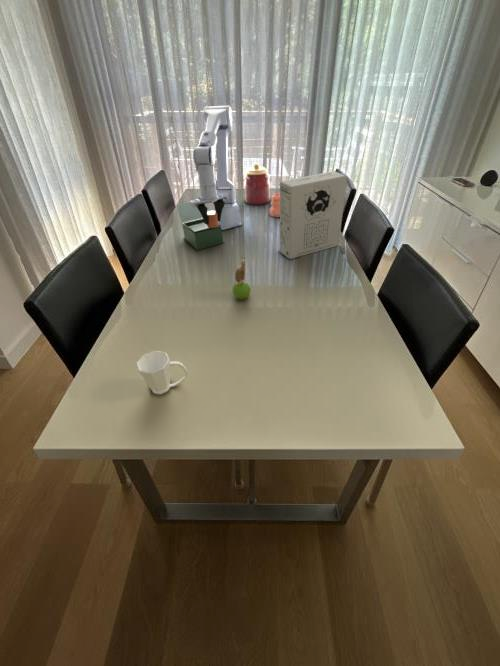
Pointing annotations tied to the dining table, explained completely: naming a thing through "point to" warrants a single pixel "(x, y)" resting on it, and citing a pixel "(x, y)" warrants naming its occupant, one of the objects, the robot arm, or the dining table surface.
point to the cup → (158, 371)
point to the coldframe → (202, 234)
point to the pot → (212, 219)
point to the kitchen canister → (257, 185)
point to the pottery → (275, 205)
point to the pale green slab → (188, 211)
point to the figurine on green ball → (241, 283)
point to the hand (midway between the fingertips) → (212, 222)
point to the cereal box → (311, 213)
